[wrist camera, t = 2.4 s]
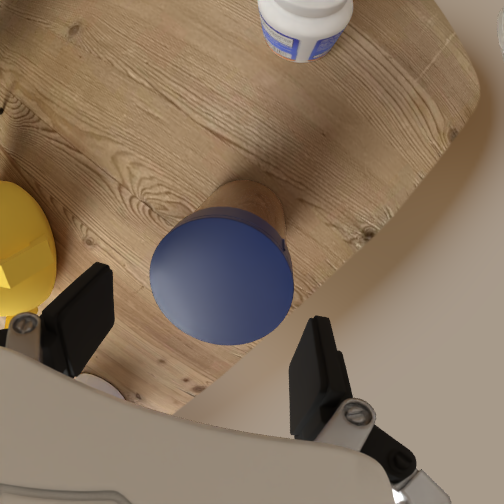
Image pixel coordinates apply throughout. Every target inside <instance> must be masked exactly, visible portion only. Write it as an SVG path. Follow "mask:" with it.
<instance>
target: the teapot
mask: <svg viewBox="0 0 504 504" xmlns="http://www.w3.org/2000/svg"><path fill="white" fill-rule="evenodd" d="M56 262H57V260H56V247H55V242H54V237H53V234H52V230H51V227H50V225H49V222H48V220H47V218H46V216H45V214H44V212H43V210H42V209H41V207H40V206H39V204H38V203H37V202H36V200H35V199H34V198H33V197H32V196H31V195H30V194H29V193H28V192H26V191H25V190H24V189H22V188H21V187H20V186H18V185H16V184H14V183H12V182H8V181H1V180H0V316H7V317H6V323H5V329H8V327H9V323H10V320H11V319H12V318H13V317H14V316H16V315H17V314H20V313H23V312H31V313H34V314H37V312H38V308H37V306H39V305H40V304H42V303H43V302H44V301H45V300H46V299H47V298H48V297H49V296H50V294H51V292H52V289H53V287H54V283H55V278H56Z"/></svg>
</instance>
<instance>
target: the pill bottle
mask: <svg viewBox="0 0 504 504" xmlns="http://www.w3.org/2000/svg"><path fill="white" fill-rule="evenodd" d="M258 8H259V13H260V19H261V24H262V29H263V34H264V38H265V41H266V43H267V45H268V46H269V48H270V49H271V50H272V51H273V52H274V53H275V54H277V55H278V56H280V57H281V58H283V59H286V60H289V61H292V62H298V63H307V62H313V61H316V60H318V59H320V58H322V57H323V56H325V55H326V54H327V53H328V52H329V51H330V50H331V48H332V47H333V45H334V44H335V42H336V41H337V39H338V38H339V36H340V35H341V33H342V32H343V31H344V29H345V28H346V26H347V24H348V23H349V21H350V19H351V16H352V13H353V0H258Z"/></svg>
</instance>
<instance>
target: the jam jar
mask: <svg viewBox="0 0 504 504" xmlns="http://www.w3.org/2000/svg"><path fill="white" fill-rule="evenodd" d="M219 206H220V207H233V208H239V209H242V210H246V211H248V212H251V213H253V214H255V215H257V216H259V217H260V218H262V219H264V220H265V221H266V222H267V223H269V224H270V225H271V226H272V227H273V228H274V229H275V230H276V231H277V232H278V233H279V235H280V236H281V237H282V239H285V244H286V246H287V240H286V228H285V217H284V211H283V207H282V204H281V202H280V201H279V199H278V197H277V196H276V195H275V194H274V193H273V191H271V190H270V189H269V188H268V187H266V186H265V185H263V184H261V183H258V182H255V181H252V180H235V181H231V182H228V183H226V184H224V185H222V186H220V187H219V188H218V189H216V190H215V191H214V192H213V193H212V194H211V195H210V196H209V197H208V198H207V199H206V200H205V201H204V202H203V203H202V204H201V205H200V206H199V207H198V208H197V209H196V210H195V211H194V212H196V211H199V210H202V209H206V208H210V207H219ZM194 212H193V213H194Z"/></svg>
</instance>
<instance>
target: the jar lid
mask: <svg viewBox="0 0 504 504" xmlns="http://www.w3.org/2000/svg"><path fill="white" fill-rule="evenodd" d="M150 285H151V289H152V293H153V296H154V298H155V301H156V303H157V305H158V306H159V308H160V310H161V311H162V312H163V314H164V315H165V316H166V317H167V318H168V320H169V321H170V322H171V323H172V324H174V325H175V326H176V327H177V328H178V329H180V330H181V331H183V332H184V333H186V334H188V335H190V336H192V337H194V338H196V339H198V340H201V341H204V342H207V343H212V344H217V345H240V344H245V343H250V342H253V341H255V340H258V339H260V338H262V337H264V336H266V335H267V334H269V333H270V332H272V331H273V330H274V329H275V328H276V327H278V325H279V324H280V323H281V322H282V321H283V320H284V318H285V316H286V315H287V313H288V311H289V309H290V306H291V303H292V299H293V293H294V282H293V271H292V262H291V257H290V254H289V251H288V248H287V246H286V244H285V239H282V237H281V236H280V235H279V233H278V232H277V231H276V230H275V229H274V228H273V227H272V226H271V225H270V224H269V223H267V222H266V221H265V220H264V219H262V218H260V217H259V216H257V215H255V214H253V213H251V212H248V211H246V210H242V209H239V208H233V207H220V206H219V207H210V208H206V209H202V210H199V211H196V212H194V213H192V214H190V215H188V216H187V217H185V218H184V219H183V220H181V221H180V222H179V223H178V224H177V225H176V226H175V227H174V228H173V229H172V230H171V231H170V232H169V233H168V234H167V235H166V236H165V237H164V238H163V239H162V240H161V242H160V243H159V245H158V246H157V248H156V250H155V252H154V254H153V257H152V260H151V264H150Z"/></svg>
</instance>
